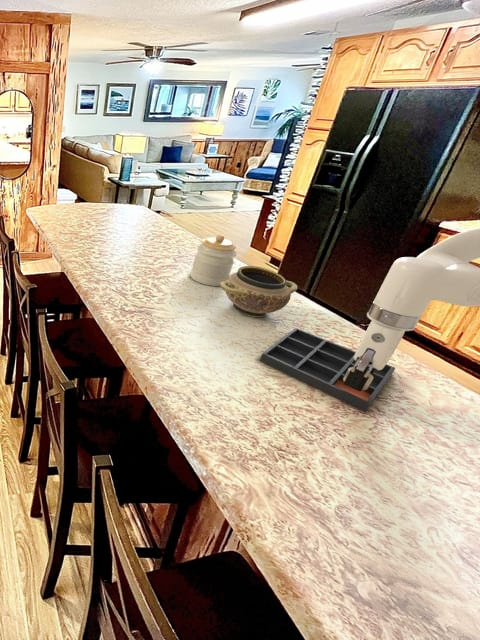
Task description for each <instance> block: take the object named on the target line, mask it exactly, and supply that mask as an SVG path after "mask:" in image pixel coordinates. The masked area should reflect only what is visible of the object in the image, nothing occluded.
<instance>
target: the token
mask: <svg viewBox="0 0 480 640" xmlns="http://www.w3.org/2000/svg"><path fill="white" fill-rule="evenodd" d="M352 369H353V367H351V368H349V369H348V371H347V373H346V375H345V376H344V378H343V380H344V381H345V379H346V378H347V376H348V374H349V372H350V370H352ZM368 377H369V378H368V380H367V382H366V384H365V385H364V387H363V389H362V390H366V389H368V387H369V385H370V383H371V382H372V380H373V376H372V375H371V374H370V373H369V375H368Z"/></svg>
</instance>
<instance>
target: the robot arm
mask: <svg viewBox="0 0 480 640" xmlns="http://www.w3.org/2000/svg"><path fill="white" fill-rule="evenodd" d="M478 259H480V226H479V227H474V228H471V229H467V230H464V231H461V232H458V233H456V234H453V235H451V236H449V237H447V238H445V239H443V240H441V241H440V242H438V243H436V244H434V245H433V246H431V247H429V248H427V249H426V250H424V251H423V252H421V253H419V255H417V256H416V257H414V256H403V257H399V258H397V259H396V260H394V261H393V263H392V265H391V266H390V268H389V270H388V273H387V274H386V276H385V278H384V280H383V282H382V284H381V286H380V288H379V290H378V292H377V294H376V295H375V298H374V300H373V302H372V303H371V305H370V307H369V309H368V311H367V313H366V317H367V318H368V319H369V320H370V322H369V325H368V327H367V329H366V330H365V332H364V334H363V336H362V338H361V340H360V342H359V344H358V346H357V348H356V350H355V352H356V353H355V355H354V360H355V361H356V360H357V362H356V363H355V365H354V367H353V369H352V370H350V372H349V374H348V376H347V378H346V379H345V381H344V385H346V386H349V387H351V388H353V389H355V390H357V391H361V390H362V389H363V387H364V385H365V384H366V382H367V380H368V378H369V377H368V375H369V373H370V374H371V375H373V373H374V371H375V368H376V369H377V370H382V369H383V368H384V366H385V365H386V364H387V365H388V363H389V361H390V360H391V358H392V356H393V354H394V353H395V351H396V349H397V348H398V345H399V344H400V342H401V341H402V339H403V337H404V335H405V332H410V331H411V332H412V331H414V330H415V328H416V327H417V325H418V323H419V322H420V320H421V318H422V317H423V315H424V313H425V311H426V310H427V308H428V306H429V304H430V303H431V302H432V301H438V302H442V303H443V302H444V303H446V304H450V305H455V306H460V307H468V308H470V307H471V308H472V307H473V308H474V307H475V308H476V307H480V267H479V266H476V265H475V264H472V263H470V262H472V261H475V260H478Z"/></svg>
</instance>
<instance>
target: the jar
mask: <svg viewBox="0 0 480 640" xmlns="http://www.w3.org/2000/svg"><path fill="white" fill-rule="evenodd" d="M200 243H201V244H199V245H197V247H196V249H197V252H196V253H195V255H194V259H193V262H192V266H191V269H190V277H191V279H193V280H194V281H196V282H197V283H200V284H203V285H206V286H213V287H220V283H221V282H222V281H226V279H227V278H228V277H229V276H230V275H231V271H232V269H233V265H234V263H235V261H234V258H235V257H236V256H237V252H236V248H237V246H236V245H235V244H234V243H233V242H232V241H231V240H229V239H226V238H225V236H224V235H223V234H218V235H216V237H215V236H210V237H209V236H208V237H207V238H204V239H202V240H201V242H200Z"/></svg>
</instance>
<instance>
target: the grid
mask: <svg viewBox="0 0 480 640" xmlns="http://www.w3.org/2000/svg"><path fill="white" fill-rule="evenodd" d="M355 353H356V350H353V349H350V348H348V347H345V346H343V345H340V344H337V343H335V342H332V341H330V340H328V339H325V338H323V337H320V336H318V335H315V334H314V333H313V334H312V333H311V332H307V331H305V330H303V329H300V328H298V327H294V328H293V329H292V330H290V331H289V332H288V333H287V334H286V335H284V336H283V337H282V338H280V339H279V340H278V341H277V342H275V343H274V344H273V345H271V346H270V347H269V348H267V349H266V350H265V351H264V352H263V353H261V355H260V358H259V362H261V363H263V364H265V365H267V366H269V367H271V368H273V369H276V370H278V371H279V372H281V373H284V374H286V375H288V376H290V377H292V378H294V379H296V380H298V381H300V382H302V383H304V384H306V385H309V386H310V387H313V388H314V389H317V390H319V391H321V392H323V393H325V394H327V395H329V396H331V397H334V398H335V399H337V400H339V401H342V402H344V403H346V404H347V405H350V406H352V407H353V408H356V409H358V410H360V411H362V412H364V413H366V412H367V411H368V409H369V408H370V406H371V405H372V404H373V402H374V401H375V399H376V398H377V397H378V395H379V393H380V392H381V391H382V389H383V388H384V386H385V385H386V383H387V382H388V381H389V379H390V378H391V376H392V375H393V373H394V371H395V370H396V367H395V366H393V365H390V364H388V363H387V364H386V365H385V366H384V368H383V369H382V370H377V369H376V368H375V371H374V373H373V375H372V376H373V380H372V382H371V383H370V385H369V387H368V389H366V390H361V391H357V390H355V389H353V388H351V387H349V386H346V385H344V380H343V378H344V376H345V375H346V373H347V371H348V369H349V368H351V367H354V365H355V363H356V362H357V360H356V361H355V360H354V355H355Z"/></svg>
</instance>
